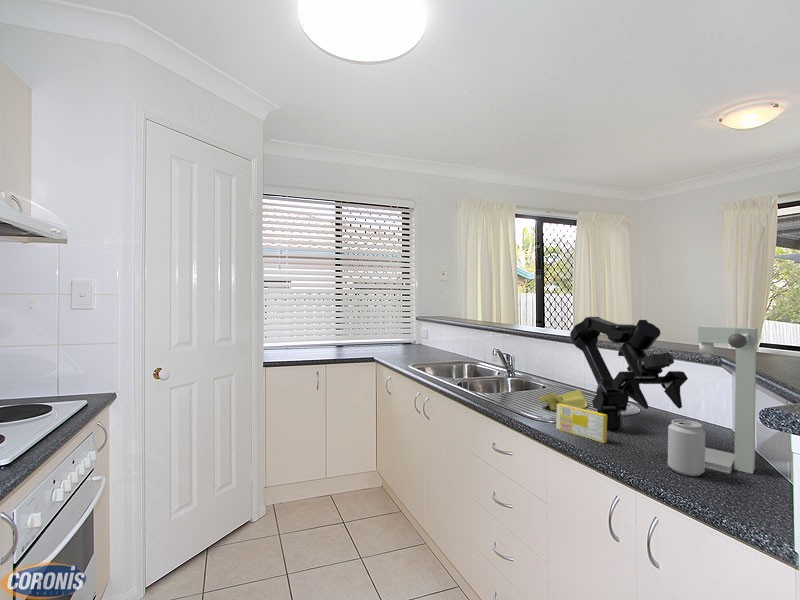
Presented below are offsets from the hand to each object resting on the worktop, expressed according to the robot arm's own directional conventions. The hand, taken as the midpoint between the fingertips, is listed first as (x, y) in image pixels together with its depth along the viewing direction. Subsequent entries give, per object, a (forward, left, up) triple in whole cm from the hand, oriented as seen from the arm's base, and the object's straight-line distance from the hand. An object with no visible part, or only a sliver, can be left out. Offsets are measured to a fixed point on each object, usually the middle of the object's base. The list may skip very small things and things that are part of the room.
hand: (663, 408), depth 110 cm
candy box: (-23, +3, -14) cm, 27 cm away
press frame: (+12, -1, -13) cm, 18 cm away
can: (+6, -5, -14) cm, 16 cm away
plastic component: (-41, +31, -14) cm, 53 cm away
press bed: (+8, +7, -13) cm, 17 cm away
